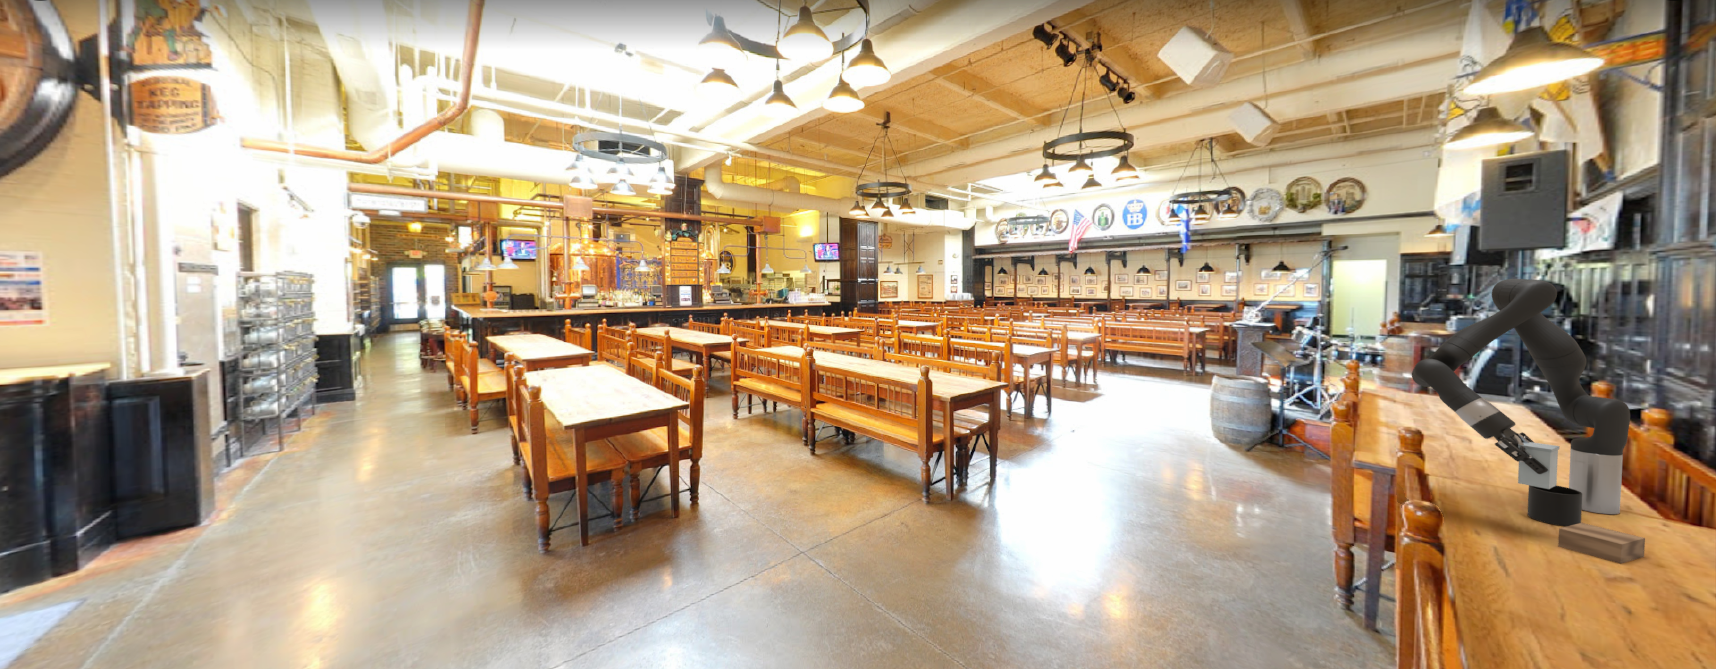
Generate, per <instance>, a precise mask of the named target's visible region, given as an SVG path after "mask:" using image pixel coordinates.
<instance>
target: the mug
mask: <svg viewBox="0 0 1716 669" xmlns="http://www.w3.org/2000/svg"><path fill="white" fill-rule="evenodd" d="M1527 494H1528V496H1527V497H1528V498H1527V517H1529V518H1531V519H1533V520H1535V521H1537V522H1542V523H1545V524H1549V525H1554V526H1562V527H1566V526H1570V525H1575V524H1579V523H1582V511H1583V510H1582V493H1581V492H1580V491H1577V490H1574V489H1571V488H1569V487H1566V486H1561V485H1556V486H1554V487H1552V488H1550V489H1546V488H1541V487H1535V486H1530V485H1528V492H1527Z"/></svg>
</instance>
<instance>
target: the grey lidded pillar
mask: <svg viewBox="0 0 1716 669" xmlns="http://www.w3.org/2000/svg"><path fill="white" fill-rule="evenodd" d="M1533 442H1534V441H1533ZM1533 442H1529V443H1526V442H1524V443H1523V444H1524V445H1519V444H1518V448H1519V449H1520V448H1521V446H1524V447H1525V448H1526V449H1527V450H1526V451H1527V452H1528V453H1530V454H1531V455H1532V456H1533V457H1534V458H1535V459H1536V460H1537V461H1539V462H1540V463H1541V464H1542V465H1544V466H1545V467H1546V468H1547V469H1548V471H1547V472H1545V473H1542V474H1537V473H1536V472H1535V471H1534V470H1533V469H1531V468H1530V467H1529V466H1528V465H1527V464H1525V462H1524V463H1522V462H1521V461H1519V462H1518V474H1517V484H1520V485H1525V486H1529V485H1530V486H1535V487H1541V488H1546V489H1550V488H1552V487H1554V486H1557V484H1558V483H1557V480H1558V459H1559V458H1558V457H1559V450H1560V446H1559V445H1553V444H1546V443H1539V442H1535V443H1533ZM1519 455H1520V454H1519ZM1532 459H1533V458H1532Z"/></svg>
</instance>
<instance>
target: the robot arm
mask: <svg viewBox="0 0 1716 669" xmlns="http://www.w3.org/2000/svg"><path fill="white" fill-rule="evenodd" d="M1491 290H1492V291H1491V299H1492V301H1493V304H1494V306H1495V307H1496V308H1497V309H1498V312H1496V313H1493V314H1492V315H1490V316H1488V317H1486V318H1484V319H1482V320H1479V321H1477V322H1474V323H1472V324H1470V325H1467V326H1466V327H1464V328H1462V329H1460V330H1458V331H1457V332H1456V333H1454V334H1452V336H1450V337H1449V338H1448V339H1447V340H1446V341H1444V342H1443V343H1442V344H1440V346H1438V347H1437V349H1436V350H1435V352H1434V353H1433V354H1431V355H1430V356H1429V357H1428V358H1425V359H1421V360H1419V361H1418V362H1417V363H1416V364H1415V365H1414V368H1413V370H1412V372H1411V377H1412V380H1413V381H1414V383H1416V384H1417V385H1419V386H1421V387H1424V388H1432V389H1433V390H1434V391H1435V392H1436V393H1437V394H1438V396H1439V399H1440V401H1442V403H1444V404H1445V405H1446V406H1447V407H1448V408H1449V409H1450V410H1451V411H1453V412H1454V413H1455V414H1456V415H1457V416H1458V417H1459V418H1460V419H1461V420H1462V421H1463V422H1464V423H1466V425H1467V426H1469V427H1471V428H1472V429H1473V430H1474V431H1475V432H1476V433H1478V434H1479V436H1481V437H1482V438H1484V439H1486V440H1488V439H1492V438H1493V437H1494V439H1495V440H1496V442H1495V443H1494V446H1496V447H1497V448H1498V449H1500V450H1501V451H1503V452H1504V454H1507V455H1508V456H1509V457H1510V458H1512V459H1513V460H1514V461H1516V462H1518V463H1519V461H1521V462H1522V463H1524V462H1525V464H1527V465H1528V466H1529V467H1530V468H1531V469H1533V470H1534V471H1535V472H1536V473H1537V474H1542V473H1545V472H1547V471H1548V469H1547V468H1546V467H1545V466H1544V465H1542V464H1541V463H1540V462H1539V461H1537V460H1536V459H1535V458H1534V457H1533V456H1532V455H1531V454H1530V453H1528V452H1527V451H1526V450H1527V449H1526V448H1525V447H1524V446H1521V448H1520V449H1519V448H1518V444H1519V445H1524V444H1523V443H1524V442H1526V443H1529V442H1533V443H1536V442H1534V441H1533V439H1532V438H1530V437H1529V436H1528V435H1527V434H1526V433H1525V432H1520V433H1518V432H1517V431H1515V430H1513V429H1512V428H1514V426H1516V422H1515V421H1513V420H1512V419H1511V418H1510V417H1509V416H1507V415H1506V414H1505V413H1504V412H1503V411H1501V410H1500V409H1499V408H1497V406H1495V405H1493V404H1492V403H1491V402H1489V401H1488V400H1486V399H1484V398H1483V397H1482V396H1481V395H1480V394H1478V393H1477V392H1476V391H1474V390H1473V389H1472V388H1471V387H1469V386H1468V385H1466V383H1465V382H1464V381H1463V380H1462V379H1461V377H1459V376H1458V375H1457V373H1455V371H1456V370H1458V368H1459V367H1461V366H1462V365H1463V364H1465V363H1466V362H1467V361H1469V360H1471V359H1472V358H1473V357H1474V356H1475V355H1477V354H1478V353H1479V352H1480V351H1482V350H1483V349H1484V348H1486V347H1487V346H1488V345H1489V344H1491V343H1492V342H1493V341H1495V340H1496V339H1498V338H1500V337H1502V336H1503V335H1504V334H1506V333H1507V332H1509V331H1511V330H1515V332H1516V334H1517V335H1518V337H1519V338H1520V339H1521V341H1522V342H1523V344H1524V345H1525V347H1526V349H1527V351H1528V352H1529V354H1530V356H1531V358H1532V360H1533V361H1534V362H1535V364H1536V365H1537V367H1538V368H1539V370H1540V371H1541V372H1542V375H1543V376H1544V378H1545V380H1546V381H1547V383H1548V385H1549V387H1550V388H1551V390H1552V393H1553V395H1554V398H1555V399H1556V402H1557V404H1558V407H1559V409H1560V411H1561V413H1562V414H1563V416H1564V418H1565V419H1566V420H1567V421H1568V422H1570V423H1571V424H1573V425H1576V426H1579V427H1585V428H1591V429H1593V432H1592V435H1591V436H1588V437H1578V438H1573V439H1572V440H1571V441H1570V455H1569V475H1568V476H1569V478H1568V480H1569V481H1568V488H1571V489H1574V490H1577V491H1580V492H1581V493H1582V511H1586V512H1590V513H1597V514H1604V515H1618V514H1620V512H1621V497H1622V495H1621V494H1622V476H1623V474H1622V473H1623V457H1624V455H1623V454H1624V449H1625V447H1626V445H1627V443H1628V436H1629V429H1630V424H1631V410H1630V408H1629V406H1628V405H1627V404H1626V403H1625V402H1624V401H1623V400H1620V399H1614V398H1607V397H1602V396H1601V397H1599V396H1592V395H1589V394H1588V393H1587V392H1586V391H1585V390H1584V388H1583V387H1582V386H1583V385H1581V382H1580V378H1581V376H1582V374H1583V373H1584V371H1585V368H1586V366H1587V357H1586V355H1585V354H1584V353H1585V352H1583V350H1582V349H1581V347H1580V345H1579V344H1578V342H1577V341H1576V340H1575V339H1574V337H1573V336H1571V335H1570V334H1569V333H1568V332H1566V330H1564V329H1562V328H1561V327H1560V326H1558V325H1557V324H1555V323H1553V322H1552V321H1551V320H1550V319H1548V318H1547V317H1546V316H1545V315H1544V314H1543V313H1542V312H1543V311H1545V310H1547V309H1548V308H1549V307H1550V306H1552V305H1553V304H1554V303H1555V301H1556V299H1557V295H1558V291H1557V289H1556V286H1554V285H1553V284H1552V283H1550V282H1549V281H1545V280H1541V279H1540V280H1539V279H1526V278H1525V279H1522V278H1508V279H1503V280H1500V281H1498V282H1497V283H1495V285H1494V286H1493V288H1492V289H1491ZM1519 454H1520V455H1519ZM1532 458H1533V459H1532Z"/></svg>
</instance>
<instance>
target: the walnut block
mask: <svg viewBox="0 0 1716 669" xmlns="http://www.w3.org/2000/svg"><path fill="white" fill-rule="evenodd" d="M1557 540H1558V541H1557V542H1558V543H1557V547H1559V548H1562V549H1566V550H1570V551H1574V552H1578V553H1580V554H1584V555H1588V556H1591V557H1594V558H1595V557H1596V558H1599V559H1603V560H1605V561H1609V562H1612V563H1617V564H1620V565H1621V564H1625V563H1629V562H1632V561H1635V560H1638V559H1641V558H1644V557H1645V547H1646V546H1645V545H1646V544H1645V543H1646V538H1645V537H1642V536H1639V535H1634V534H1630V533H1626V532H1621V531H1617V530H1613V529H1609V528H1605V527H1601V526H1597V525H1593V524H1588V523H1584V522H1581V523H1579V524H1575V525H1570V526H1562V527H1559V528H1558V539H1557Z"/></svg>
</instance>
